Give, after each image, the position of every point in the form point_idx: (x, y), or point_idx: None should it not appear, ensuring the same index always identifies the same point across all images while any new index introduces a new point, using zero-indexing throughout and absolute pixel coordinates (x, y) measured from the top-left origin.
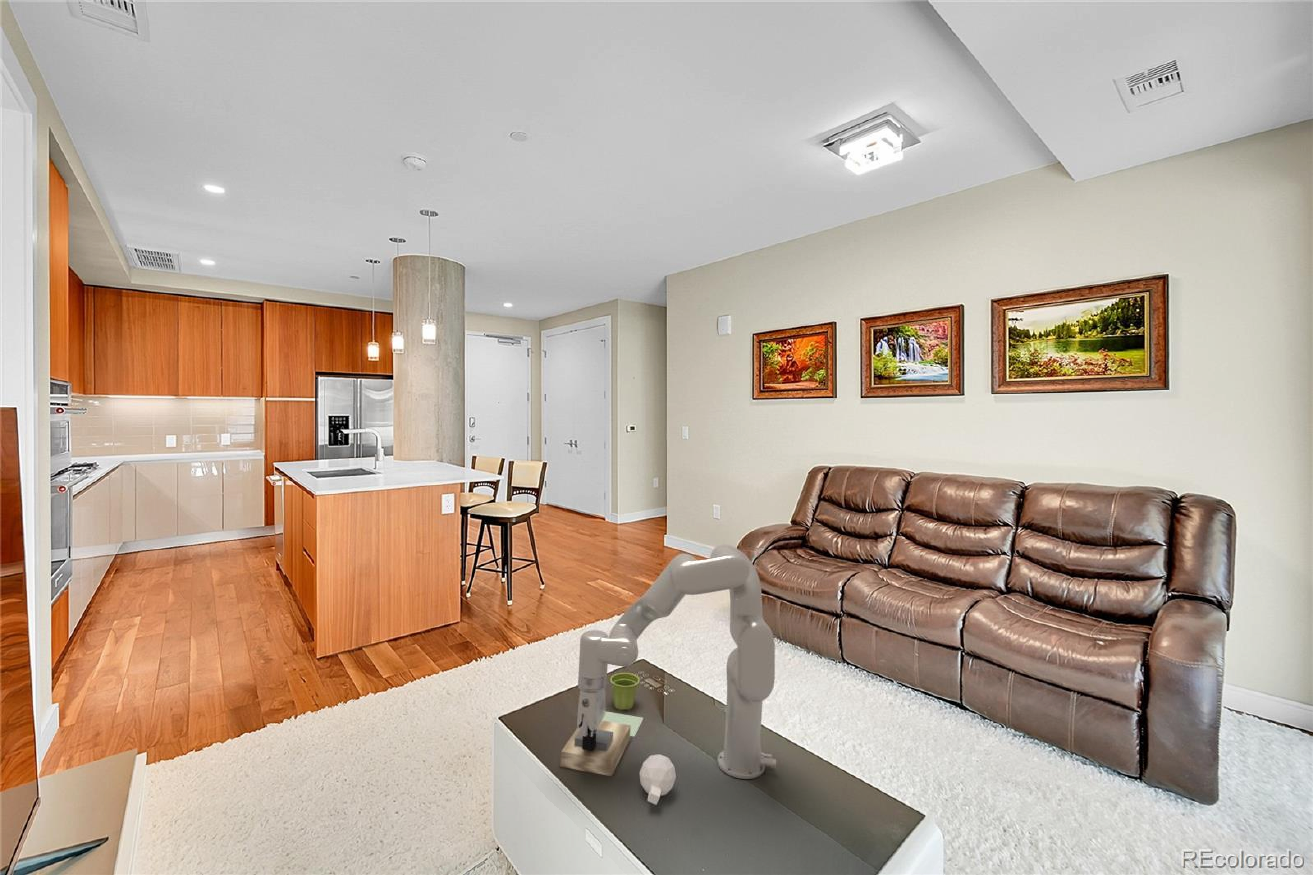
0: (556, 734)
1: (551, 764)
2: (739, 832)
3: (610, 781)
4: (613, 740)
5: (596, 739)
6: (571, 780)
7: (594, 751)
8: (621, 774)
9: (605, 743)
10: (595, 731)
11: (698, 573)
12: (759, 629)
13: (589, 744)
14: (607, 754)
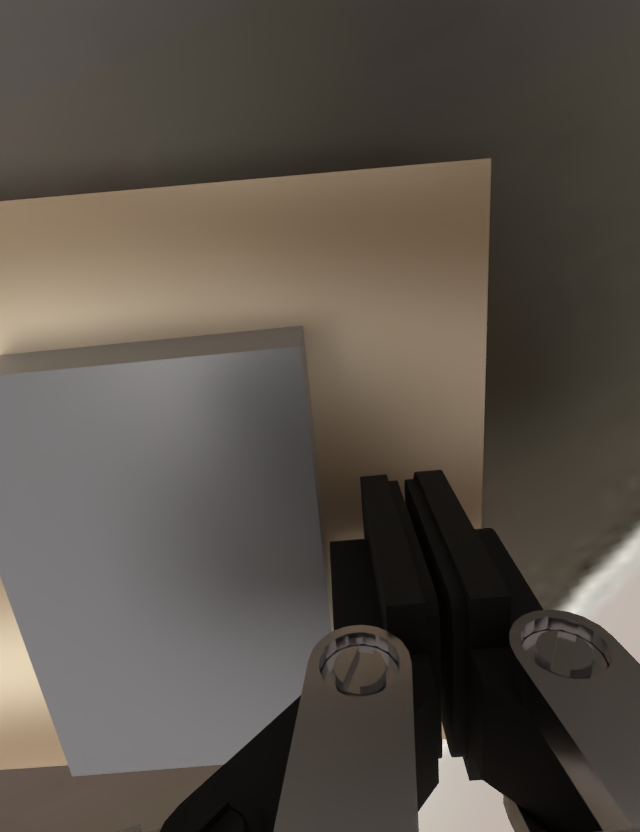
0: (85, 795)
1: None
2: None
3: (518, 158)
4: (22, 337)
5: (253, 531)
6: (585, 491)
7: (360, 462)
8: (371, 85)
9: (299, 372)
10: (343, 646)
11: None
12: None
13: (509, 568)
14: (366, 285)
